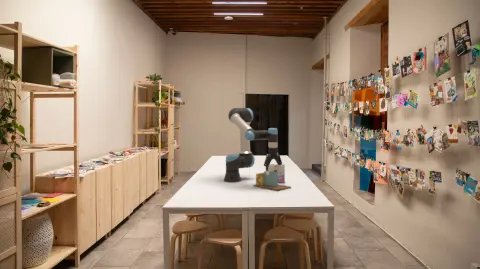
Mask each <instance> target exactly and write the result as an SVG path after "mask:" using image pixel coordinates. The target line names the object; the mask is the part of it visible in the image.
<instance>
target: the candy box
mask: <svg viewBox="0 0 480 269" xmlns="http://www.w3.org/2000/svg"><path fill="white" fill-rule="evenodd" d="M277 165H278V164H277V163H270V164H269V166H268V167H269V171H274V172H277ZM285 172H286V171H285V163H282V165H280V173H278V184H285V182H286V181H285V178H286V177H285V175H286V174H285Z"/></svg>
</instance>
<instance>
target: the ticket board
mask: <svg viewBox="0 0 480 269" xmlns="http://www.w3.org/2000/svg"><path fill="white" fill-rule="evenodd" d="M253 187H255V188H260V189H265V190H271V191H276V192H280V191H285V190H289V189H292V186H289V185H284V184H280V183H278V186H274V187H273V186H268V185H264V171H263V172H258V173H255V184H253Z"/></svg>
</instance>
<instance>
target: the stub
mask: <svg viewBox="0 0 480 269" xmlns="http://www.w3.org/2000/svg"><path fill="white" fill-rule="evenodd" d="M263 172H264V185H268V186H273V187H274V186H278V184H279V183H278V172H274V171H269V175H266V170H264V171H263Z"/></svg>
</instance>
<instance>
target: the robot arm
mask: <svg viewBox="0 0 480 269" xmlns="http://www.w3.org/2000/svg"><path fill="white" fill-rule="evenodd" d="M227 117H228V119H229V122H231V123H232V124H234V125H235V126H236V127H237V128H238V129H239V138H240V139H239V140H240V141H239V142H240V151H239V152H238V153H231V154H227V155H226V157H225V174H224V177H223V181H224V182H227V183H238V182H242V177H241V174H240V169H246V168H247V169H248V168H252V167H253V166H254V165H255V160H256V159H255V155H254V154H253V152H252V151H251V143H250V142H251V141H262V140H263V141H264V140H265V141H266V140H267V142H268V143H267V144H268V146H267V147H268V151H267V152H268V153H266V156H265V160H264V161H263V162H264V163H263V166H264V167H265V171H266V175H269V164H271V162H272V160H275V162H276V164H278V165H277V172H278V173H280V165H282V164H283V161H282V158H281V155H280V152H278V151H279V149H278V148H279V147H278V146H279V145H278V141H279V140H278V137H279V136H278V135H279V133H278V128H277V127H270V128H268V130H266V129H265V130H263V129H262V130H254V129H253V128H252V127H251V126H250V124H251V123H252V121H253V120H254V112H253V110H252V109H251V108H249V107H248V108H247V107H233V108H232V109H230V110H229V111H228V115H227Z"/></svg>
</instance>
